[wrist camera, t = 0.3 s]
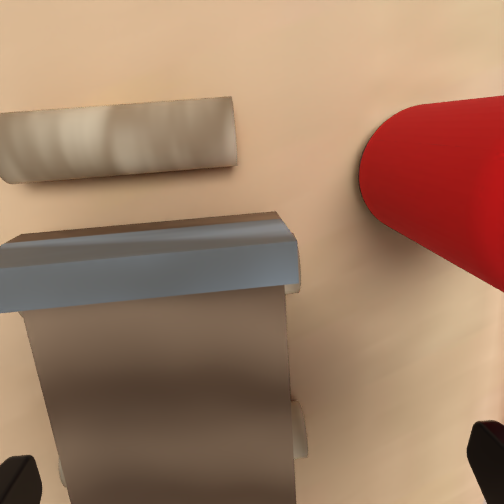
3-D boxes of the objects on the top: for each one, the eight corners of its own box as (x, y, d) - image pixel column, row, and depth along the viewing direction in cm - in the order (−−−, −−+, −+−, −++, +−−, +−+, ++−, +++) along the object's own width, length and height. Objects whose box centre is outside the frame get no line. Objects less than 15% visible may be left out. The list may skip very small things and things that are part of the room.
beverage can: (328, 157, 21) (465, 192, 10) (432, 78, 20) (714, 15, 9) (390, 248, 23) (568, 372, 11) (487, 179, 22) (782, 235, 11)
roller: (235, 162, 21) (238, 168, 18) (28, 179, 20) (-3, 188, 17) (229, 98, 20) (232, 93, 17) (13, 114, 19) (-22, 112, 16)
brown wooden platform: (299, 451, 26) (334, 585, 18) (88, 477, 25) (33, 629, 18) (287, 198, 21) (327, 238, 14) (27, 221, 21) (-84, 276, 13)
